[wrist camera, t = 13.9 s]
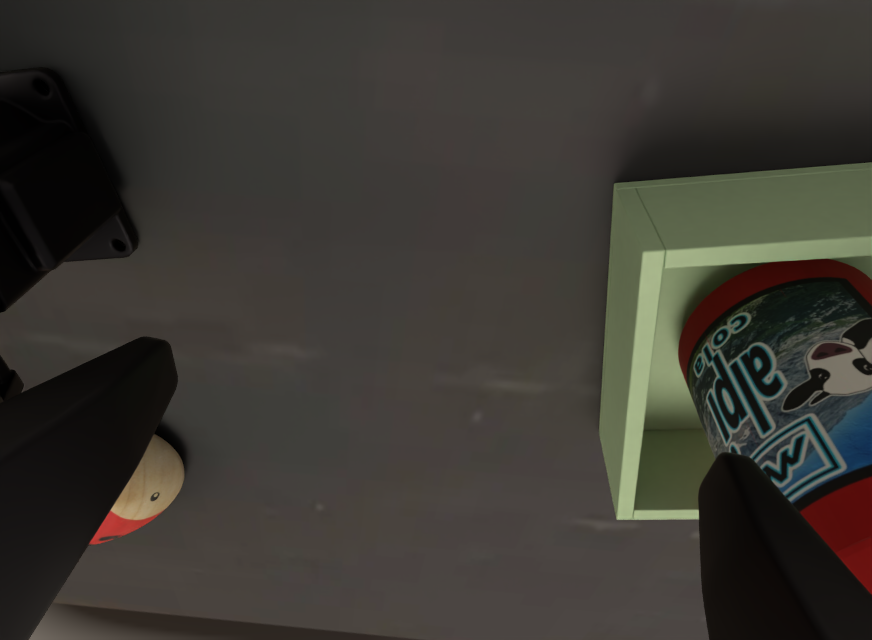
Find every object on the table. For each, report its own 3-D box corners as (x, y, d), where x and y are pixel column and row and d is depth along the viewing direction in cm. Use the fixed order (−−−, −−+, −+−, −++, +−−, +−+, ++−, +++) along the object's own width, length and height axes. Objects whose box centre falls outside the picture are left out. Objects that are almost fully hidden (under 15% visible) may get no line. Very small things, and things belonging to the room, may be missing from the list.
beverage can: (746, 215, 19) (1012, 555, 9) (919, 281, 20) (1323, 651, 10) (636, 363, 23) (744, 711, 13) (785, 413, 24) (988, 770, 14)
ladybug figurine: (221, 475, 30) (193, 538, 27) (92, 524, 33) (55, 584, 30) (119, 387, 26) (75, 448, 24) (-12, 451, 30) (-65, 511, 27)
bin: (598, 432, 26) (616, 520, 22) (613, 182, 19) (642, 251, 16) (887, 423, 25) (956, 516, 21) (1015, 149, 18) (1150, 218, 14)
